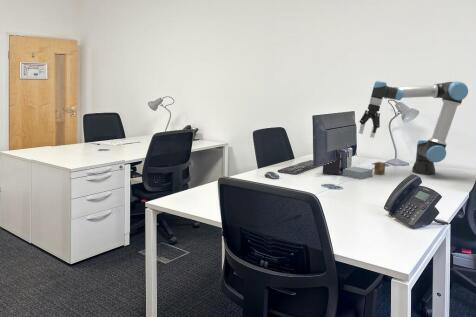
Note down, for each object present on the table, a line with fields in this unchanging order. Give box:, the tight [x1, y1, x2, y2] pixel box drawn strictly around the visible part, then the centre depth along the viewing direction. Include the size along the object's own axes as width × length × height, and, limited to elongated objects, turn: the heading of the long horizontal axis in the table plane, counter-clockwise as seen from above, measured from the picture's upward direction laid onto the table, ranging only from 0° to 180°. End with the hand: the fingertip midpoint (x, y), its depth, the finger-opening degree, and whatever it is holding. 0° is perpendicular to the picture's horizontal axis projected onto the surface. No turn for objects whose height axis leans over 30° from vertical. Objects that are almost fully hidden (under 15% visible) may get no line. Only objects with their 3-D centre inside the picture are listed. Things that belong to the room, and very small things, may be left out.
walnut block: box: [373, 161, 386, 176], centre depth 284 cm, size 5×5×8 cm
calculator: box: [322, 153, 341, 176], centre depth 281 cm, size 11×4×15 cm, turn 84°
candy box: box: [347, 147, 354, 168], centre depth 298 cm, size 14×6×16 cm, turn 5°
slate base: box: [342, 166, 374, 180], centre depth 277 cm, size 14×14×5 cm
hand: (366, 135), depth 278 cm, fingers open, 13 cm apart
